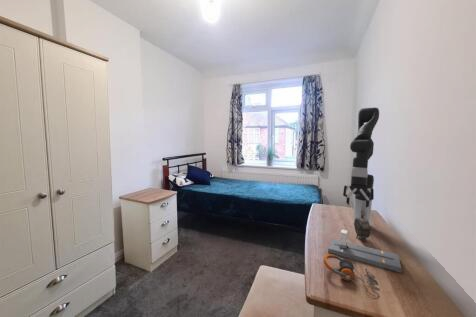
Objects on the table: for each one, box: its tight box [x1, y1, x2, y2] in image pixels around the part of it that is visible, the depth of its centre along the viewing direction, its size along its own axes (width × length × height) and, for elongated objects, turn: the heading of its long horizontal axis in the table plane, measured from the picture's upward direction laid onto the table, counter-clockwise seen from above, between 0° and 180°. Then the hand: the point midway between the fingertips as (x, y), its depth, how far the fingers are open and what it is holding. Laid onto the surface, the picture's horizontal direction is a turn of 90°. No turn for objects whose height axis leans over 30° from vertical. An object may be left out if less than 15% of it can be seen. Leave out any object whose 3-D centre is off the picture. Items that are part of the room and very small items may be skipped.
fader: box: [339, 229, 348, 248], centre depth 101 cm, size 5×3×7 cm, turn 148°
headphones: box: [323, 253, 381, 297], centre depth 82 cm, size 17×5×20 cm
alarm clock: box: [353, 210, 371, 243], centre depth 114 cm, size 11×5×16 cm, turn 168°
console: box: [327, 238, 402, 273], centre depth 97 cm, size 12×28×2 cm, turn 58°
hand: (357, 205), depth 112 cm, fingers open, 8 cm apart
